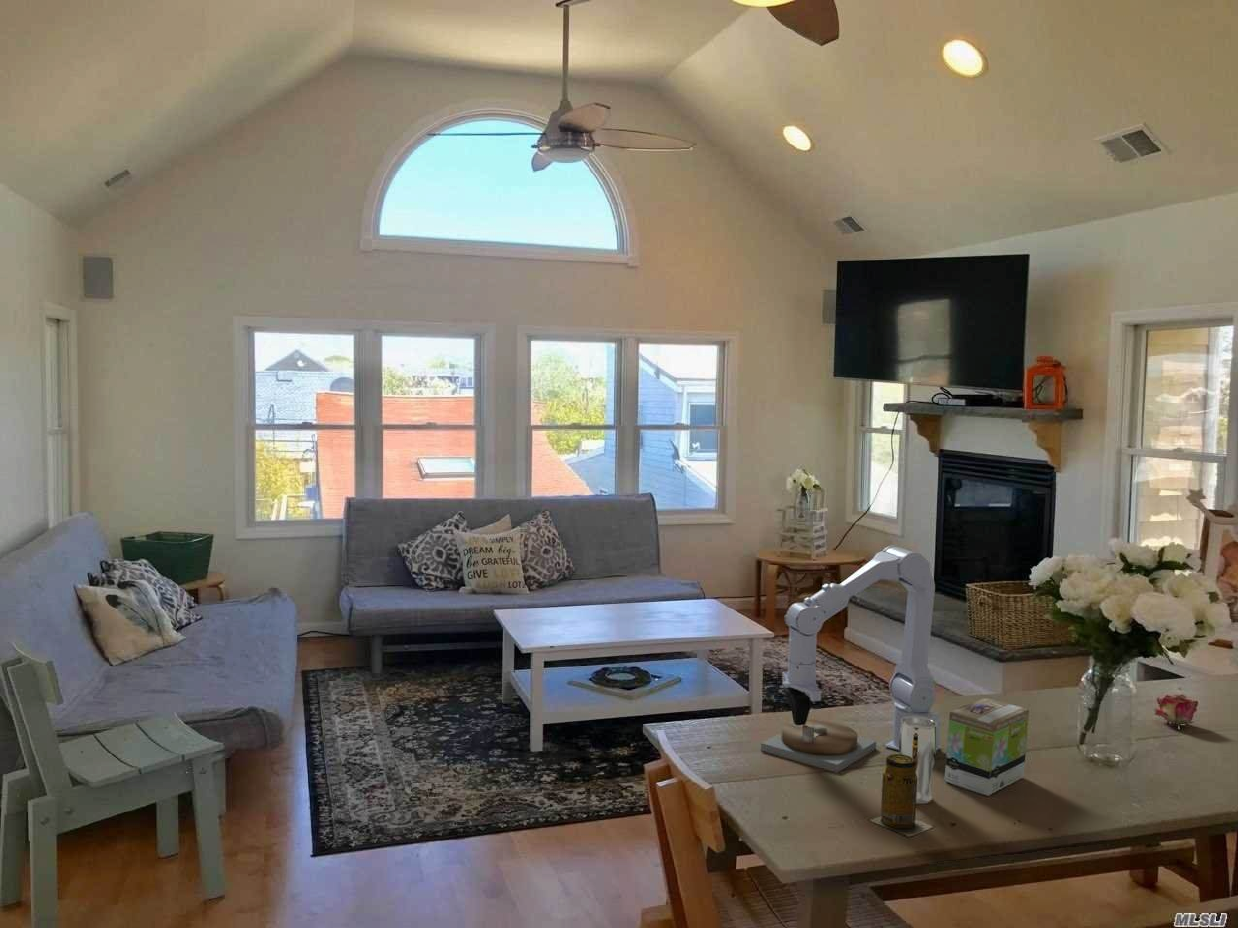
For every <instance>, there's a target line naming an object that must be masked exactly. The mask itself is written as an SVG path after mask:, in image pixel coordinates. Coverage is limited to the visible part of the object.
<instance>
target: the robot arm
mask: <svg viewBox="0 0 1238 928" xmlns="http://www.w3.org/2000/svg"><path fill="white" fill-rule="evenodd" d="M930 569H931V562H930V561H929V560H928V559H927V558H926V557H925V556H923V555H922V554H921V553H919V552H915V551H911V550H908V549H905V548H902V547H900V546H898V545H889V546H887V547H885V548H884V549H883V550H881V551H879V552H877V553H875V554H874V557H873V558H872V559H871V560H869V561H868V562H867V563H866V564H864V565H863V566H862V567H861V568H859V569H858V570H856V571H855V572H854V573H852V575H850V576H849V577H848V578H846V579H845V580H843V581H842V582H841V583H839V584H838V583H835V582H831V583H829V584H828V583H824V584H823V585H822V586H821V589H820V590H819V591H818V592H815V593H814V594H813V595H811V596H810V597H806V598H804V599H803V602H796V603H793V604H792V605H791V606H790V607H788V610H787V611H786V614H785V615H784V621H785V624H786V625H787V626H788V628H789V630H788V632H789V633H788V651H787V652H788V653H787V654H788V655H787V657H788V658H787V659H788V660H787V671H782V676H781V677H782V678H781V680H782V682H781V683H782V684H781V685H782V686H784V687H785V688H787V689H784V693H785V695H786V698H787V701H788V703H789V706H790V710H791V715H792V716H791V717H792V722H793V721H794V724H796V725H805V724H806V721H807V720H808V719H809V713H810V710H811V708H812V706H813V704H814V702H819V701H820V702H821V701H822V691H821V690H820V689H819V687H818V684H817V682H816V664H817V663H816V662H817V641H818V640H817V639H818V638H817V636H818V635H817V633H819V632H820V631H821V630H822V627H823V625H824V622H826V621H827V620H829V619H830V618H831V617H833V616H834V615H836V614H838V613H839V612H841V611H842V610H843V609H845V608H846V607H848V604H849V601H850V598H851V597H852V596H854V595H856V594H858V593H860V592H861V591H863V590H865V589H866V588H868V587H869V586H872V585H873V584H875V583H876V582H879V581H880V580H890V581H899V583H901V585H902V586H903V587H904V588H905V589H906V590H907V601H906V610H905V620H904V629H903V630H904V631H903V639H902V640H903V641H902V651H901V660H900V662H898V663H897V664H895V666H894V670H893V671H894V672H893V675H892V676H891V679H890V680H889V683H888V690H889V691H888V692H890V696H892V697H893V703H894V705H893V723H892V724H893V725H892V739H891V741H889V742H887V743H885V744H884V747H885V748H889V749H892V750H896V751H899V734H900V727H901V719H902V718H904V717H907V716H919V717H925V718H929V719H932V720H934V721H935V722H936V723H937V749H936V752H938V750H939V749H941V745H940V740H941V739H940V736H941V717H940V714H939V713H937V712H934V711H932V710H930V709H931V708H932V707H933V706H934V704H935V702H936V697H937V694H936V690H935V686H934V680H935V679H934V676H933V674H932V672H931V671H930V669H929V668H930V667H928V666H929V665H928V662H929V660H928V659H929V653H930V652H929V650H930V641H931V633H932V632H931V630H932V622H933V613H934V601H935V592H936V583H935V580H934V578H933V575H932V572H931V570H930Z"/></svg>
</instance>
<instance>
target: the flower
mask: <svg viewBox="0 0 1238 928" xmlns="http://www.w3.org/2000/svg"><path fill="white" fill-rule="evenodd" d="M1156 698H1157V699H1156V702H1157V704H1158V706H1159V708H1160V709H1159V708H1156V707H1154V709H1153V710H1154V715H1156V716H1158V717H1162V718H1164V720H1165V721H1166V720H1167V722H1171V723H1176V727H1177V726H1179V727H1180V726H1181V724H1186V725H1187V726H1188V725H1189V726H1190V724H1193V723H1196V722H1199V719H1197V720H1195V721H1192V720H1193V717H1194V714H1195V713H1197V711H1198V710H1197V709H1198V708H1197V707H1198V706H1199V701H1198V700H1193V699H1188V698H1187V696H1186V695H1184V694H1175V695H1169V694H1166V695H1164V697H1160V696H1157V697H1156ZM1167 722H1166V723H1167ZM1181 727H1182V726H1181Z"/></svg>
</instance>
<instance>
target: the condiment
mask: <svg viewBox="0 0 1238 928" xmlns="http://www.w3.org/2000/svg"><path fill="white" fill-rule="evenodd" d="M882 773H883V774H882V787H881V800H880V801H881V803H880V804H881V806H880V816H878V817H874V818H872V819H870V822H872V823H875V824H876V825H880V826H882V827H884V828H886V829H889V830H892V831H894V832H897V833H899V834H901V835H905V836H907V837H914V836H917V835H919V834H921V833H924V832H925V831H927V830H930V829H932V828H934V826H932V825H930V824H927V823H926V822H925V821H920V820H918V819H917V817H916V812H917V804H916V796H917V775H916V761H915V760H914V759H913V758H912V757H910V756H907V755H902V754H899V753H893V754H889V755H887V756H886V758H885V769H884V770H883V772H882Z"/></svg>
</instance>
